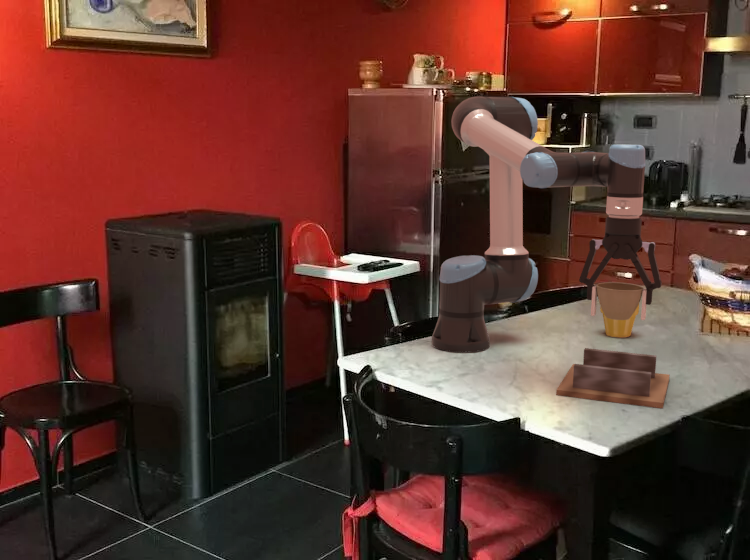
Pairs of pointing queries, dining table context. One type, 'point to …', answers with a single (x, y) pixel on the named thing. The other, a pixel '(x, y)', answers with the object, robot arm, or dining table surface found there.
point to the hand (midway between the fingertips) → (618, 316)
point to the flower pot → (619, 299)
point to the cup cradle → (616, 379)
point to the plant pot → (619, 325)
